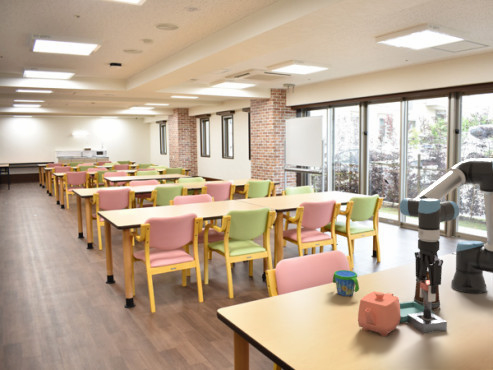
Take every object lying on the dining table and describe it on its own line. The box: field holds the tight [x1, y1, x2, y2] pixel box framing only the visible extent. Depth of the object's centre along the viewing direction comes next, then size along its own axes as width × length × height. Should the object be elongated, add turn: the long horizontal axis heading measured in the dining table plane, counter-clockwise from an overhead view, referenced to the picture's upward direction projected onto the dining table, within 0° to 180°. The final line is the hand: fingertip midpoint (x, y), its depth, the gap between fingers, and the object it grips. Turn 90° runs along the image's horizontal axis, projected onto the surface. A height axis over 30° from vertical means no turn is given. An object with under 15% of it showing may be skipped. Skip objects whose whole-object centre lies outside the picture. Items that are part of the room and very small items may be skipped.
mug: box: [413, 269, 441, 311], centre depth 182 cm, size 16×11×15 cm
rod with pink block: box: [420, 280, 433, 321], centre depth 159 cm, size 4×4×15 cm
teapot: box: [357, 291, 401, 337], centre depth 157 cm, size 22×13×14 cm, turn 138°
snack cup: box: [332, 269, 360, 297], centre depth 195 cm, size 16×10×10 cm
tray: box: [399, 300, 436, 324], centre depth 171 cm, size 16×13×2 cm
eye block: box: [406, 312, 448, 335], centre depth 159 cm, size 10×10×4 cm
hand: (427, 298), depth 159 cm, fingers closed on rod with pink block, 4 cm apart
